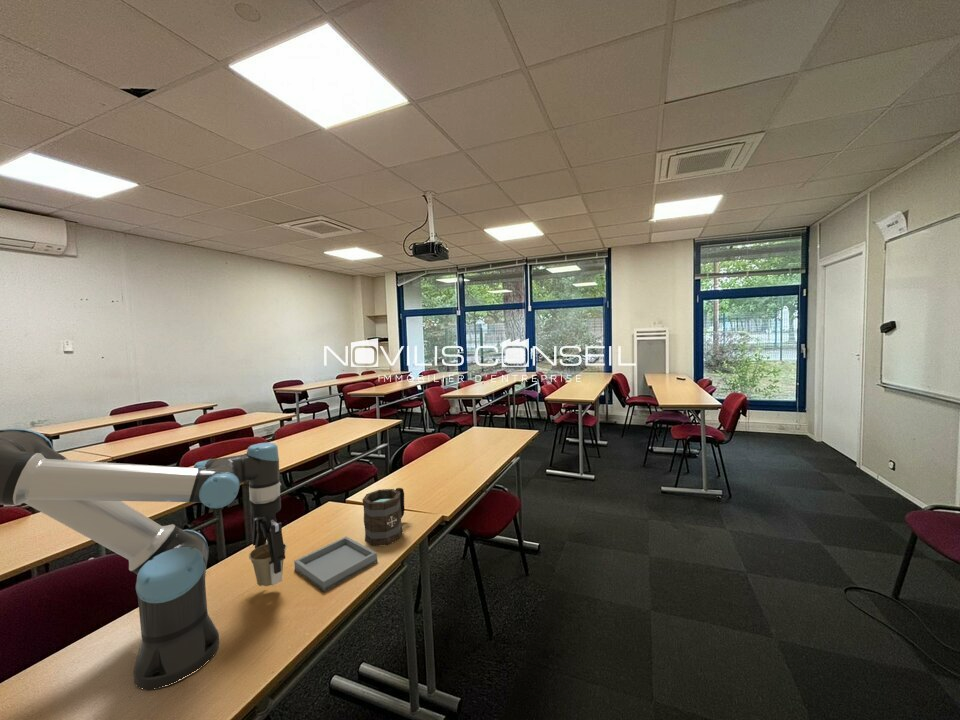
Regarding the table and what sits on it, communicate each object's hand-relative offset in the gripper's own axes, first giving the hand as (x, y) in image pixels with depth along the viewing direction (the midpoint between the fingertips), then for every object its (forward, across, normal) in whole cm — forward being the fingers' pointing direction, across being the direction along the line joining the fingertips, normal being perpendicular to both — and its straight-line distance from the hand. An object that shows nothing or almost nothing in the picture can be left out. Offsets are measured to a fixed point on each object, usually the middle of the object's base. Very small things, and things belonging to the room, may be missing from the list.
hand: (269, 576), depth 108 cm
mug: (+5, 0, -42) cm, 42 cm away
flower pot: (+1, 0, 0) cm, 1 cm away
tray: (+5, -3, -19) cm, 19 cm away
